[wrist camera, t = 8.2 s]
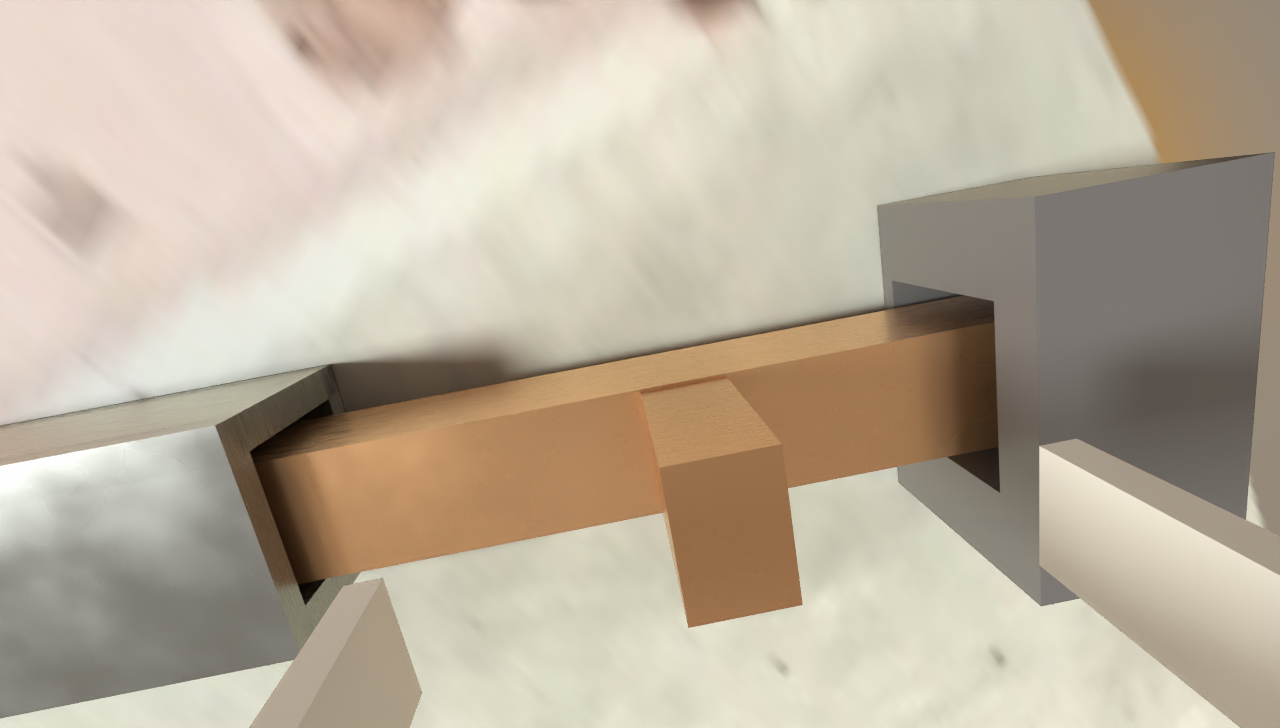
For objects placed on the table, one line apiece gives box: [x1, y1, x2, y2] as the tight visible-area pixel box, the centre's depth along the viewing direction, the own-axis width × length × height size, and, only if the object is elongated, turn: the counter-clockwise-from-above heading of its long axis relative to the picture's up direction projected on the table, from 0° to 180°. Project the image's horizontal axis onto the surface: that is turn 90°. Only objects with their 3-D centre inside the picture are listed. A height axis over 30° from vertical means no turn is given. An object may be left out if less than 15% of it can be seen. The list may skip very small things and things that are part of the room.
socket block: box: [877, 152, 1275, 606], centre depth 21 cm, size 12×6×9 cm, turn 10°
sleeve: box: [0, 364, 360, 718], centre depth 21 cm, size 8×17×8 cm, turn 100°
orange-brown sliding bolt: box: [249, 295, 999, 628], centre depth 19 cm, size 4×30×10 cm, turn 100°
